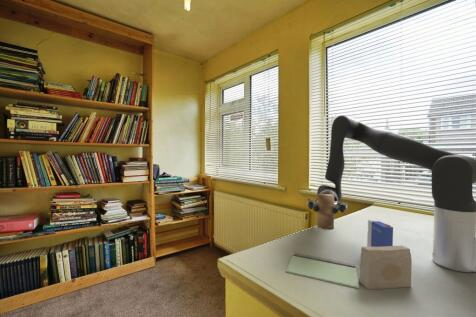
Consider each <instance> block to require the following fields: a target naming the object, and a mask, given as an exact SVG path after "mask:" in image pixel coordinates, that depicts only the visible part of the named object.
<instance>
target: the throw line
mask: <svg viewBox="0 0 476 317" xmlns="http://www.w3.org/2000/svg"><path fill="white" fill-rule="evenodd" d="M293 256H296V257H301V258H306V259H311V260H317V261H322V262H327V263H332V264H337V265H342V266H347V267H352V268H356V267H357V265H356V264H355V263H351V262H344V261H339V260H335V259H330V258H324V257H319V256H314V255H309V254H302V253H297V252H294V253H293ZM356 269H357V268H356Z"/></svg>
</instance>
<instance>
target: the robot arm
mask: <svg viewBox="0 0 476 317" xmlns="http://www.w3.org/2000/svg"><path fill="white" fill-rule="evenodd" d="M330 132H331V133H330V146H329V157H328V163H327V167H326V172H325V175H324V178H325V180H327V181H328V182H330V183H332V184H333V185H334V186H331V185H328V184H321V185H319V187H318V188H317V191H316V196H317V197H316V199H315V200H313V199H311V198H308V199H307V207H308V209H309V210H313V211H314V213H318V194H331V195H334V215H336V214H338V213H339V212H341V213H345V212H346V211H347V210H348V202H347V201H343V202H341V200H342V197H343V195H342V194H343V193H342V179H343V173H344V170H345V156H344V142H345V139H348V140H349V139H350V140H353V141H356V142H360V143H362V144H364V145H365V146H368V147H369V148H370V149H371V150H373V151H374V152H377V153H378V154H380V155H382V156H385V157H386V158H389V159H392V160H395V161H398V162H402V163H406V164H410V165H414V166H418V167H422V168H424V169H426V170H429V171H431V178H430V179H431V196H432V199H433V202H434V205H433V206H434V208H433V234H432V237H433V238H432V261H433V262H434V263H436V265H438V266H440V267H443V268H446V269H449V270H451V271H455V272H456V271H457V272H461V273H473V272H474V273H476V200H475V199H474V196H473V195H474V194H473V184H474V183H476V159H475V158H473V157H471V156H468V155H463V154H458V153H454V152H450V151H447V150H443V149H439V148H435V147H433V146H431V145H428V144H425V143H423V142H421V141H418V140H416V139H413V138H411V137H409V136H407V135H403V134H401V133H397V132H394V131H392V130H387V129H382V128H377V127H372V126H369V125H367V124H366V123H363V122H361V121H359V120H358V119H356V118H352V117H351V116H347V115H343V114H342V115H338V116H336V117H335V119H334V120H333V121H332V124H331V131H330ZM340 202H341V203H340Z"/></svg>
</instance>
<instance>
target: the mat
mask: <svg viewBox="0 0 476 317" xmlns="http://www.w3.org/2000/svg"><path fill="white" fill-rule="evenodd" d="M357 271H358V270H357V268H355V267H350V266H345V265H340V264H335V263H329V262H324V261H319V260H314V259H309V258H304V257H299V256H294V255H293V256H292V258H291V259H290V261H289V264H288V265H287V268H286V273H289V274H294V275H298V276H302V277H306V278H310V279H314V280H319V281H322V282H323V281H324V282H328V283H332V284H336V285H341V286H346V287H351V288H353V289H358V290H359V289H360V284H359V278H358V273H357Z"/></svg>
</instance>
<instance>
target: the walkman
mask: <svg viewBox="0 0 476 317" xmlns="http://www.w3.org/2000/svg"><path fill="white" fill-rule="evenodd" d="M366 239H367V240H366V241H367V242H366V247H385V246H394V245H393V244H394V242H393V241H394V227H393V226H391V224H389V223H384V222H382V221H380V220H377V219H367V238H366Z"/></svg>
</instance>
